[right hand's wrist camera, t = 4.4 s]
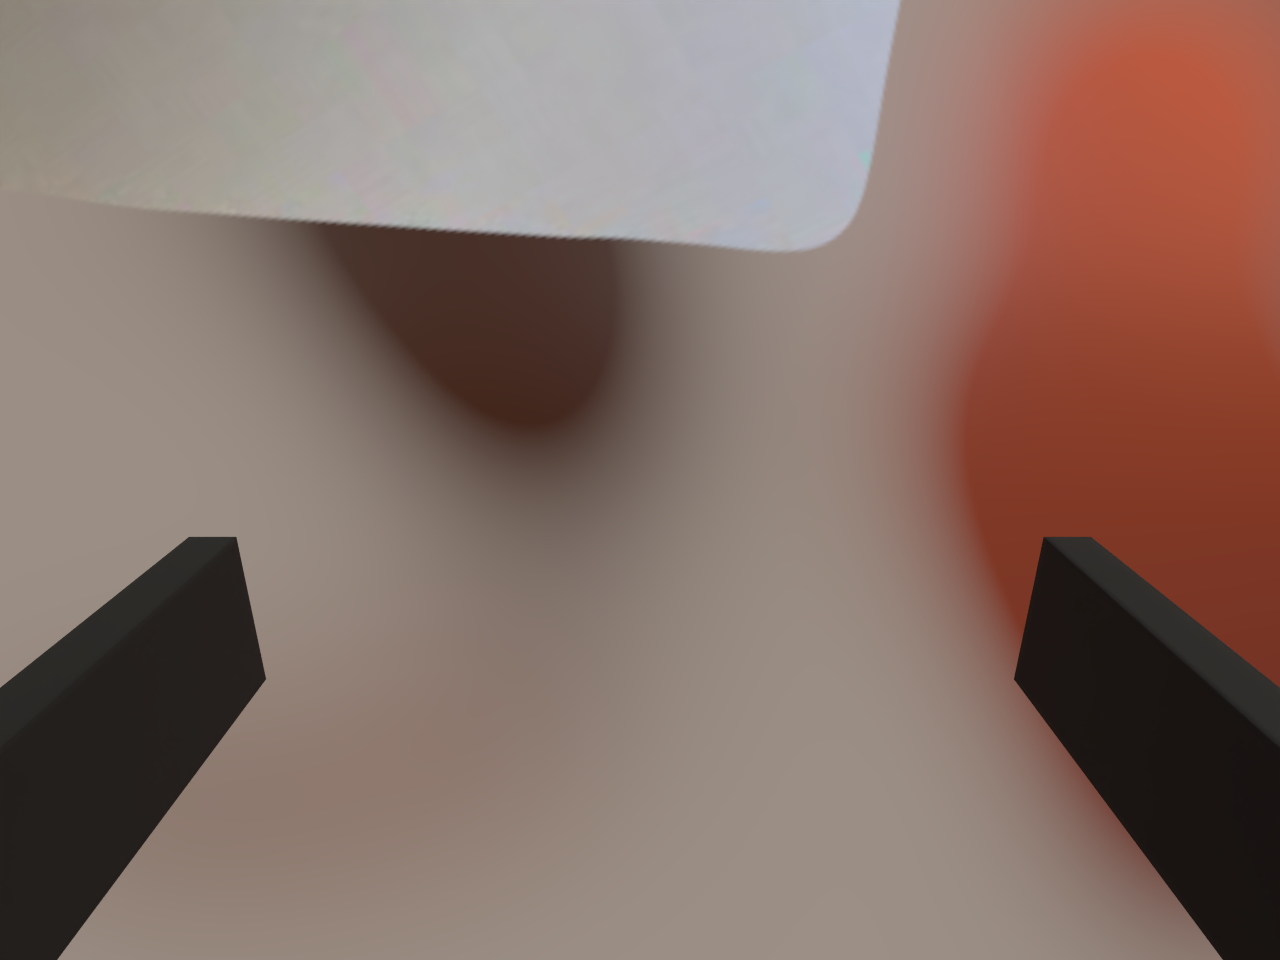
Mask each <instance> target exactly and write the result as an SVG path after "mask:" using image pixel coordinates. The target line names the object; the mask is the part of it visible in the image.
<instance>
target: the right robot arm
mask: <svg viewBox="0 0 1280 960" xmlns="http://www.w3.org/2000/svg"><path fill="white" fill-rule="evenodd" d="M265 680H266V677H265V672H264V667H263V663H262V658H261V653H260V648H259V644H258V639H257V634H256V629H255V624H254V620H253V615H252V610H251V605H250V601H249V596H248V591H247V586H246V582H245V577H244V572H243V567H242V562H241V557H240V553H239V548H238V543H237V538H236V537H188V538H187V539H186V540H185V541H184V542H182V543H181V544H180V545H178V546H177V547H176V548H175V549H174V550H172V551H171V552H170V553H168V554H167V555H166V556H165V557H163V558H162V559H161V560H160V561H159V562H157V563H156V564H155V565H153V566H152V567H151V568H150V569H148V570H147V571H146V572H145V573H143V574H142V575H141V576H140V577H138V578H137V579H136V580H135V581H133V582H132V583H131V584H130V585H128V586H127V587H126V588H125V589H123V590H122V591H121V592H120V593H118V594H117V595H116V596H115V597H113V598H112V599H111V600H110V601H108V602H107V603H106V604H105V605H103V606H102V607H101V608H100V609H98V610H97V611H96V612H95V613H93V614H92V615H91V616H90V617H88V618H87V619H86V620H85V621H83V622H82V623H81V624H80V625H78V626H77V627H76V628H75V629H73V630H72V631H71V632H70V633H68V634H67V635H66V636H65V637H63V638H62V639H61V640H60V641H58V642H57V643H56V644H55V645H53V646H52V647H51V648H50V649H48V650H47V651H46V652H45V653H43V654H42V655H41V656H40V657H38V658H37V659H36V660H35V661H33V662H32V663H31V664H29V665H28V666H27V667H26V668H25V669H23V670H22V671H21V672H19V673H18V674H17V675H16V676H15V677H13V678H12V679H11V680H9V681H8V682H7V683H6V684H4V685H3V686H2V687H1V688H0V960H57V959H58V958H59V956H60V955H61V954H62V952H63V951H64V950H65V948H66V947H67V946H68V944H69V943H70V942H71V940H72V939H73V938H74V936H75V935H76V934H77V932H78V931H79V930H80V928H81V927H82V926H83V924H84V923H85V922H86V920H87V919H88V917H89V916H90V915H91V913H92V912H93V911H94V909H95V908H96V907H97V905H98V904H99V903H100V901H101V900H102V899H103V897H104V896H105V895H106V893H107V892H108V891H109V889H110V888H111V887H112V885H113V884H114V883H115V881H116V880H117V879H118V877H119V876H120V875H121V873H122V872H123V870H124V869H125V868H126V866H127V865H128V864H129V862H130V861H131V860H132V858H133V857H134V856H135V854H136V853H137V852H138V850H139V849H140V848H141V846H142V845H143V844H144V842H145V841H146V840H147V838H148V837H149V835H150V834H151V833H152V832H153V830H154V829H155V827H156V826H157V825H158V823H159V822H160V821H161V819H162V818H163V817H164V815H165V814H166V813H167V811H168V810H169V809H170V807H171V806H172V805H173V803H174V802H175V801H176V799H177V798H178V797H179V795H180V794H181V793H182V791H183V790H184V789H185V787H186V786H187V785H188V783H189V782H190V781H191V779H192V778H193V776H194V775H195V774H196V772H197V771H198V770H199V768H200V767H201V766H202V764H203V763H204V762H205V760H206V759H207V758H208V756H209V755H210V754H211V752H212V751H213V750H214V748H215V747H216V746H217V744H218V743H219V742H220V740H221V739H222V737H223V736H224V735H225V734H226V732H227V731H228V729H229V728H230V727H231V725H232V724H233V723H234V721H235V720H236V719H237V717H238V716H239V715H240V713H241V712H242V711H243V709H244V708H245V707H246V705H247V704H248V703H249V701H250V700H251V699H252V697H253V696H254V695H255V693H256V692H257V691H258V689H259V688H260V687H261V685H262V684H263V682H264V681H265ZM1014 680H1015V681H1016V682H1017V684H1018V685H1019V686H1020V688H1021V689H1022V690H1023V692H1024V693H1025V695H1026V696H1027V697H1028V699H1029V700H1030V701H1031V703H1032V704H1033V705H1034V707H1035V708H1036V709H1037V711H1038V712H1039V713H1040V715H1041V716H1042V717H1043V719H1044V720H1045V721H1046V723H1047V724H1048V725H1049V727H1050V728H1051V729H1052V731H1053V732H1054V733H1055V735H1056V736H1057V738H1058V739H1059V740H1060V742H1061V743H1062V744H1063V746H1064V747H1065V748H1066V750H1067V751H1068V752H1069V754H1070V755H1071V756H1072V758H1073V759H1074V760H1075V762H1076V763H1077V764H1078V766H1079V767H1080V768H1081V770H1082V771H1083V772H1084V774H1085V775H1086V776H1087V778H1088V779H1089V781H1090V782H1091V783H1092V785H1093V786H1094V787H1095V789H1096V790H1097V791H1098V793H1099V794H1100V795H1101V797H1102V798H1103V799H1104V801H1105V802H1106V803H1107V805H1108V806H1109V807H1110V809H1111V810H1112V811H1113V813H1114V814H1115V815H1116V817H1117V818H1118V819H1119V821H1120V822H1121V823H1122V825H1123V826H1124V827H1125V829H1126V830H1127V832H1128V833H1129V834H1130V836H1131V837H1132V838H1133V840H1134V841H1135V842H1136V844H1137V845H1138V846H1139V848H1140V849H1141V850H1142V852H1143V853H1144V854H1145V856H1146V857H1147V858H1148V860H1149V861H1150V862H1151V864H1152V865H1153V866H1154V868H1155V869H1156V870H1157V872H1158V873H1159V875H1160V876H1161V877H1162V879H1163V880H1164V881H1165V883H1166V884H1167V885H1168V887H1169V888H1170V889H1171V891H1172V892H1173V893H1174V895H1175V896H1176V897H1177V899H1178V900H1179V901H1180V903H1181V904H1182V905H1183V907H1184V908H1185V909H1186V911H1187V912H1188V913H1189V915H1190V916H1191V917H1192V919H1193V920H1194V921H1195V923H1196V924H1197V925H1198V927H1199V928H1200V929H1201V931H1202V932H1203V934H1204V935H1205V936H1206V938H1207V939H1208V940H1209V942H1210V943H1211V944H1212V946H1213V947H1214V948H1215V950H1216V951H1217V952H1218V954H1219V955H1220V956H1221V958H1222V959H1223V960H1280V688H1279V687H1278V686H1277V685H1276V684H1274V683H1273V682H1272V681H1271V680H1269V679H1268V678H1267V677H1266V676H1264V675H1263V674H1262V673H1261V672H1259V671H1258V670H1257V669H1256V668H1254V667H1253V666H1252V665H1251V664H1249V663H1248V662H1247V661H1245V660H1244V659H1243V658H1242V657H1240V656H1239V655H1238V654H1237V653H1235V652H1234V651H1233V650H1232V649H1230V648H1229V647H1228V646H1227V645H1225V644H1224V643H1223V642H1222V641H1220V640H1219V639H1218V638H1217V637H1215V636H1214V635H1213V634H1212V633H1210V632H1209V631H1208V630H1207V629H1205V628H1204V627H1203V626H1202V625H1200V624H1199V623H1198V622H1197V621H1195V620H1194V619H1193V618H1192V617H1190V616H1189V615H1188V614H1187V613H1185V612H1184V611H1183V610H1182V609H1180V608H1179V607H1178V606H1177V605H1175V604H1174V603H1173V602H1172V601H1170V600H1169V599H1168V598H1167V597H1165V596H1164V595H1163V594H1162V593H1160V592H1159V591H1158V590H1156V589H1155V588H1154V587H1153V586H1152V585H1150V584H1149V583H1148V582H1147V581H1145V580H1144V579H1143V578H1142V577H1140V576H1139V575H1138V574H1137V573H1135V572H1134V571H1133V570H1132V569H1130V568H1129V567H1128V566H1127V565H1125V564H1124V563H1123V562H1122V561H1120V560H1119V559H1118V558H1117V557H1115V556H1114V555H1113V554H1112V553H1110V552H1109V551H1108V550H1107V549H1105V548H1104V547H1103V546H1102V545H1100V544H1099V543H1098V542H1097V541H1095V540H1094V539H1093V538H1091V537H1044V538H1043V543H1042V548H1041V553H1040V557H1039V562H1038V567H1037V572H1036V577H1035V581H1034V586H1033V591H1032V596H1031V601H1030V605H1029V610H1028V615H1027V620H1026V625H1025V629H1024V634H1023V639H1022V644H1021V648H1020V653H1019V658H1018V663H1017V667H1016V672H1015V677H1014Z"/></svg>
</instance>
